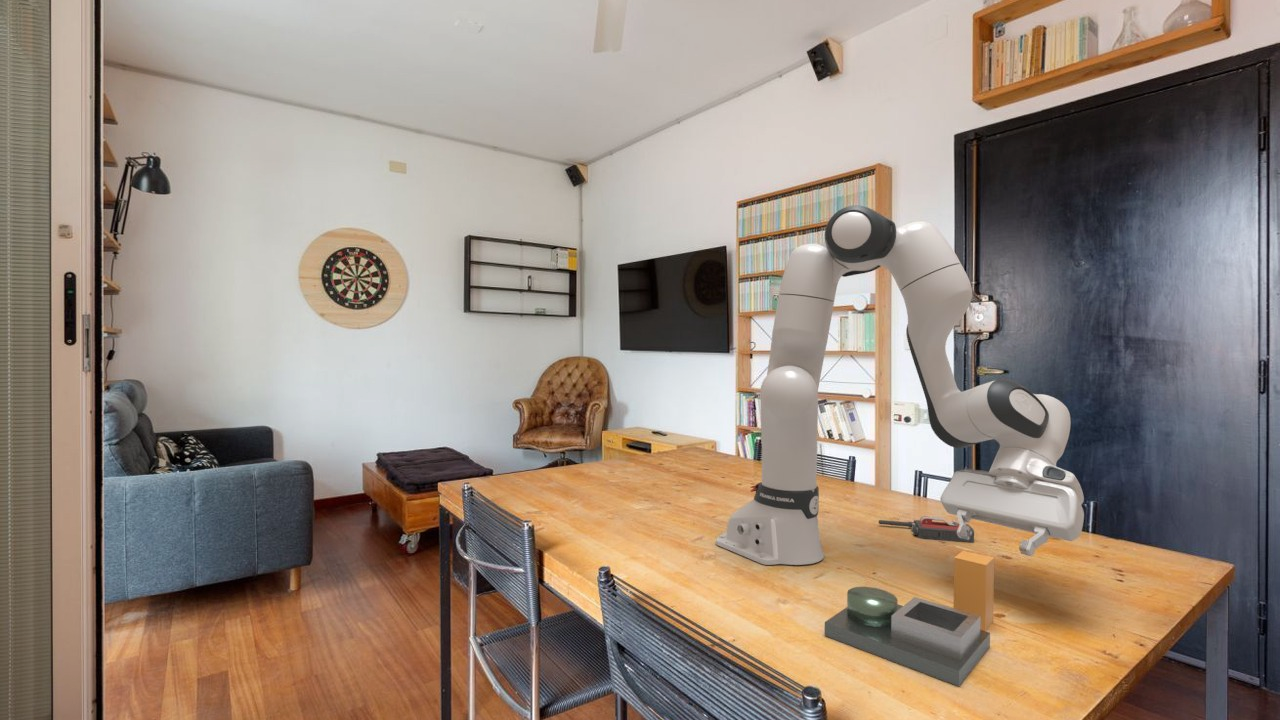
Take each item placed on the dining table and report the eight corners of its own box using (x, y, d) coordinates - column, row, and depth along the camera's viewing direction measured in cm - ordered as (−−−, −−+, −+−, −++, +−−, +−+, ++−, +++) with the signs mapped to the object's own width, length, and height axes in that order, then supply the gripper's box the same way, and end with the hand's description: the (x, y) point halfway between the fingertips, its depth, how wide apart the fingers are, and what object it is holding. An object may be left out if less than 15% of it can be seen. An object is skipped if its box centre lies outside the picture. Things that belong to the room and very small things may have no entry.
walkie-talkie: (969, 533, 135) (877, 526, 140) (969, 514, 135) (878, 508, 140) (981, 545, 126) (882, 537, 132) (981, 525, 126) (883, 518, 132)
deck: (824, 635, 85) (824, 601, 85) (865, 606, 95) (865, 576, 95) (958, 686, 72) (959, 646, 72) (989, 646, 82) (990, 611, 82)
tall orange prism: (953, 621, 90) (954, 557, 90) (962, 612, 93) (962, 550, 93) (985, 631, 87) (986, 565, 87) (993, 621, 90) (994, 557, 90)
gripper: (951, 456, 106) (922, 517, 100) (1086, 476, 89) (1060, 551, 83) (963, 477, 108) (935, 538, 103) (1096, 500, 92) (1071, 575, 86)
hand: (992, 544), depth 93 cm, fingers open, 8 cm apart
